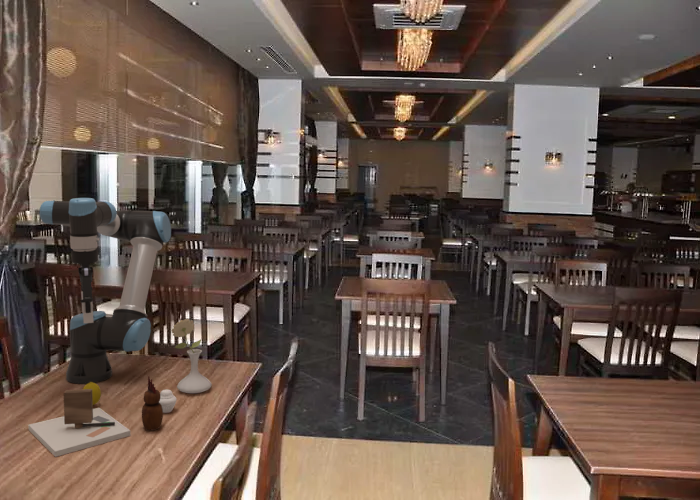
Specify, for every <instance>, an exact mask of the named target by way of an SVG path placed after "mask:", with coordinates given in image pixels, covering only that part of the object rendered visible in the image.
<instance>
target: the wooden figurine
mask: <svg viewBox="0 0 700 500" xmlns="http://www.w3.org/2000/svg"><path fill="white" fill-rule="evenodd" d="M160 393H161V391H159V390H158V389H156V386H155V384H154V383H153V379H152V378H150V375H149V376H147V390H145V392H144V394H143V402H144V404H143V405H142V407H141V408H142V409H141V422H142V424H143V425H142V426H143V428H144V429H145V430H147V431H155V430H156V431H157V430H158V429H160V427H161V426H162V423H163V417H164V416H163V415H164V413H163V410H162V405H161V404H160V403H159V401H160Z"/></svg>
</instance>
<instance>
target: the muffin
mask: <svg viewBox="0 0 700 500" xmlns="http://www.w3.org/2000/svg"><path fill="white" fill-rule="evenodd" d="M177 400H178V399H177V397H176V396H175V395H174V394H173V391H172V390H171V389H162V390H161V391H160V401H159V403H160V404H161V405H162V410H163V414H168V413H171V412H173V409H174V407H175V406H176V403H177Z"/></svg>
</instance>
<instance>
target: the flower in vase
mask: <svg viewBox="0 0 700 500" xmlns="http://www.w3.org/2000/svg"><path fill="white" fill-rule="evenodd" d="M194 323H195V322H194V320H190V319H189V318H187V319H186V318H185V319H183V320H182V319H181V320H180V321H178V322H176V323H175V324H174V325H173V328H172V329H171V333H172V336H173V337H175V338H177V337H178V338H184V337H185V341H186V342H180V343H178V344H177V345H175V347H174V349H185V348H186V347H187V346H188V347H189V349H187V350H186V353H187V355H188V356H189V360H190V371H189V373H188V374H187V375H186V376H185V377H183V378H182V379H181V380H180V381H179V382H178V383H177V385H176V387H177V390H178V391H180V392H182V393H185V394H186V393H187V394H200V393H202V392H205V391H208V390H210V389H211V387H212V382H211V381H210V380H209V379H208V378H207V377H206V376H204V375H203V374H202V373H200V371H199V359H200V358H199V357H200V355H201V353H202V352H203V350H202V349H199V348H197V347H199V346H200V345H201V342H202V339H199V340H196V341H195V342H193V343H192V344H191V345H190V344H189V343H188V337H187V336H188V335H190V334H191V333H192V332H193V330H194V329H195V324H194Z"/></svg>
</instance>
